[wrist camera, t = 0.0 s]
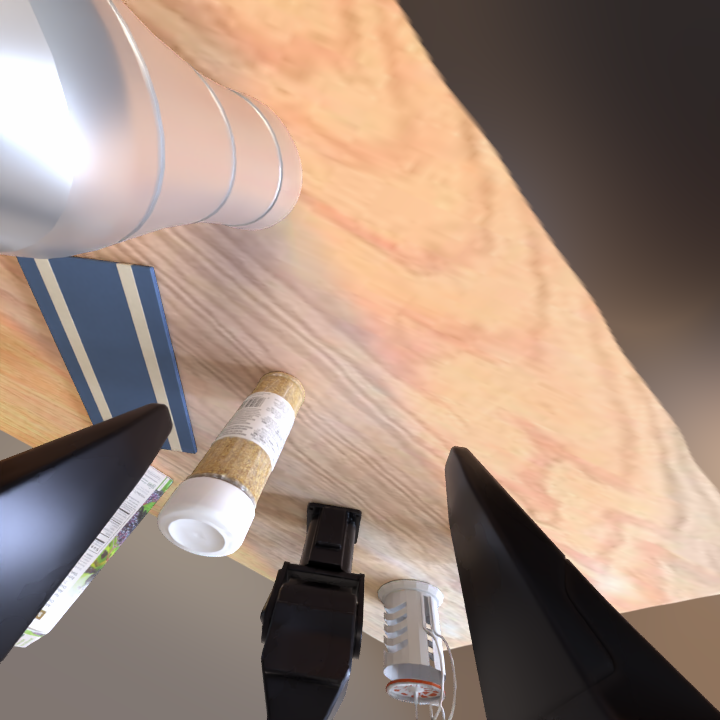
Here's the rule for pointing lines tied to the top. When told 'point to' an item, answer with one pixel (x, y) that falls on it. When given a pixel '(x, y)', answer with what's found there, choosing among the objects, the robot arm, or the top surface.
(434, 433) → the top surface
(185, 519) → the sprinkles bottle
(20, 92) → the silver water bottle
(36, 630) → the syrup box
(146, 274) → the tea towel
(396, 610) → the french press
